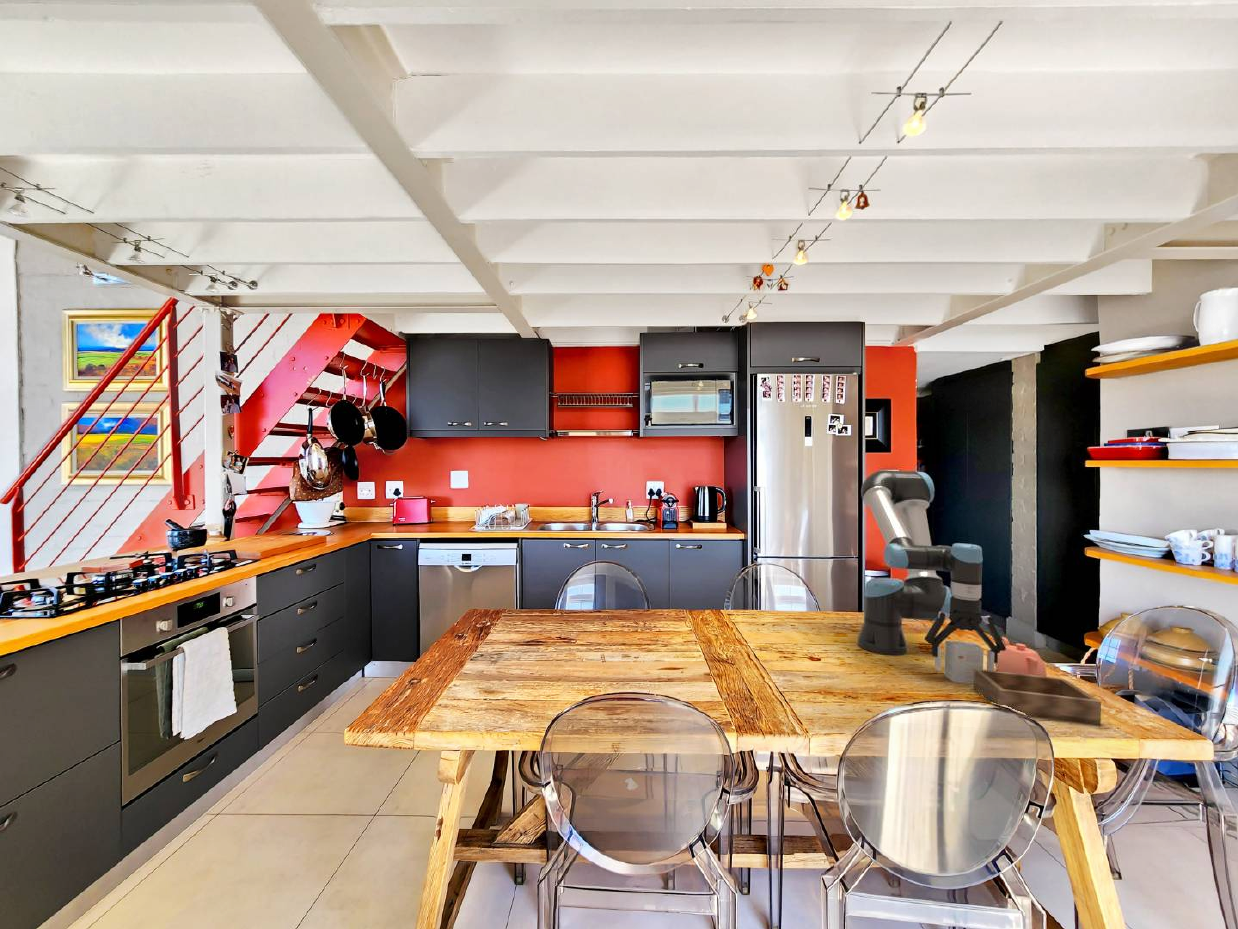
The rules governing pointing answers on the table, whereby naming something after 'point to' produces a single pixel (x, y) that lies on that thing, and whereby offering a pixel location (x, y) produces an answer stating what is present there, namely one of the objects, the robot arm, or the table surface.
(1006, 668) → the teapot
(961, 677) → the small box
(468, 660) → the table surface
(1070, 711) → the crate
